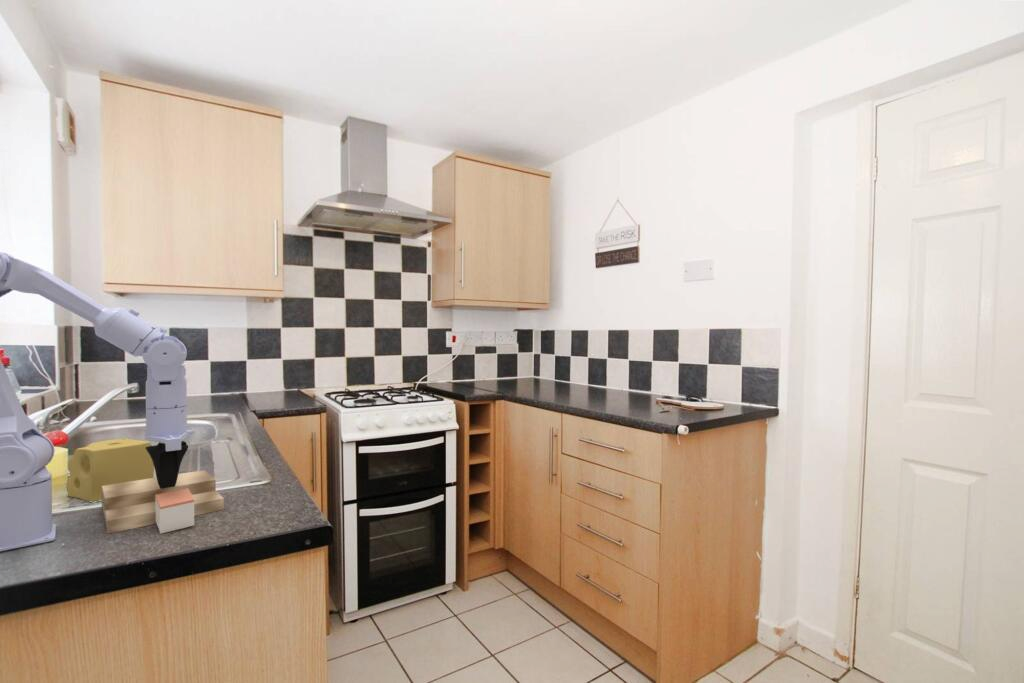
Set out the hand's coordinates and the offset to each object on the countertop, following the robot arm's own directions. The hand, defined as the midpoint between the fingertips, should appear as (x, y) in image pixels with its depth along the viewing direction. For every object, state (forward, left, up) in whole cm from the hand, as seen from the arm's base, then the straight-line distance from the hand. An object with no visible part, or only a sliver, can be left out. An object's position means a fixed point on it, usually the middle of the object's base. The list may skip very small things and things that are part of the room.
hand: (167, 486), depth 84 cm
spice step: (0, +6, -5) cm, 8 cm away
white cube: (0, -7, 0) cm, 7 cm away
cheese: (-6, +25, -6) cm, 27 cm away
